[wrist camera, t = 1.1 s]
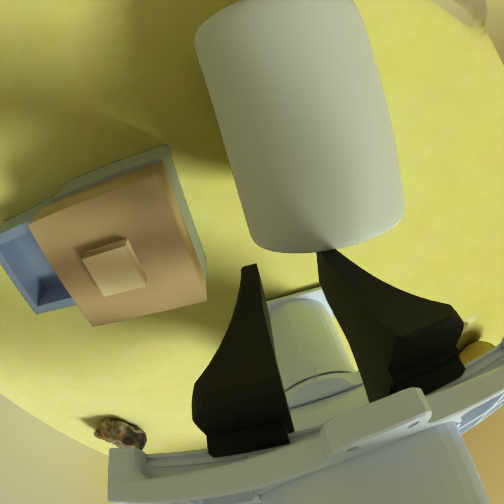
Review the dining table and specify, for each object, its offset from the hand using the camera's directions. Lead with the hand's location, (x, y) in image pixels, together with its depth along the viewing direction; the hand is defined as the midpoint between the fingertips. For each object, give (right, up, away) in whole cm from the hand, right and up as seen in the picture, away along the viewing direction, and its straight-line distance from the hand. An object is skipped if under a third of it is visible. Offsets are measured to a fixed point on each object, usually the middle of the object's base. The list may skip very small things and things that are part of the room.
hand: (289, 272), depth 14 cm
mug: (+1, +13, -1) cm, 13 cm away
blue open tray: (-18, +1, +8) cm, 20 cm away
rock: (-23, -28, +28) cm, 45 cm away
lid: (-10, +2, +6) cm, 12 cm away
